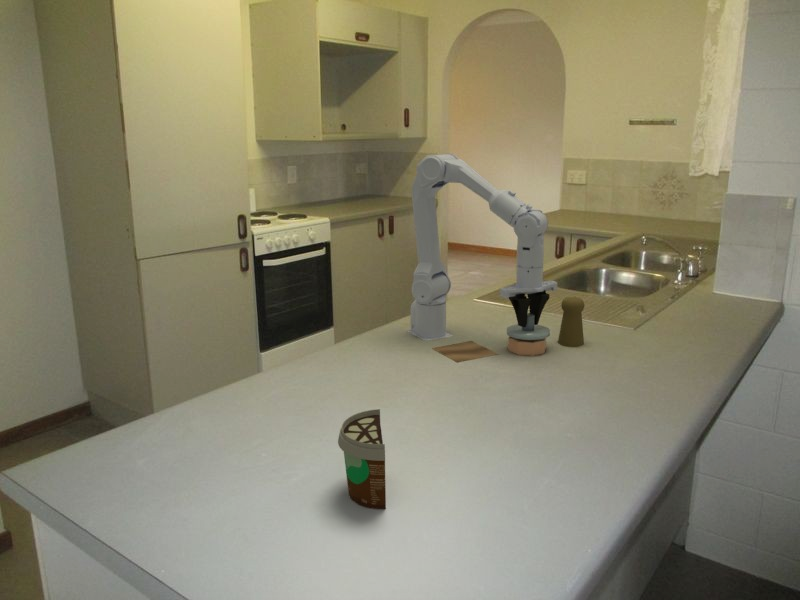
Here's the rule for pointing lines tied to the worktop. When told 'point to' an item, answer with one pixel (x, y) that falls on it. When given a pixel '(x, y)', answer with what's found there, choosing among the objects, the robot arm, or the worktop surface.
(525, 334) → the lid
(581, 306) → the cork
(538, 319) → the robot arm
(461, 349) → the board
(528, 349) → the pot
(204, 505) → the worktop surface
